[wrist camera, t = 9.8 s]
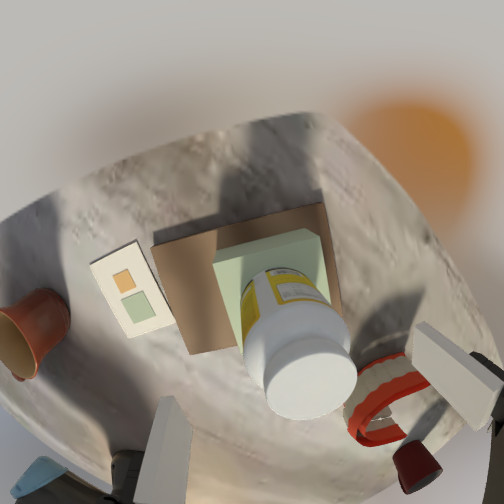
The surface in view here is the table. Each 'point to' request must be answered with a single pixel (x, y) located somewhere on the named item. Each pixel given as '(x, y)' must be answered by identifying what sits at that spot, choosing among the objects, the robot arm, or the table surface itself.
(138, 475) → the robot arm
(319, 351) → the pill bottle
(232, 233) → the plate
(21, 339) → the mug
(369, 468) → the table surface
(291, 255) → the brick
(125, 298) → the page
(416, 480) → the mug
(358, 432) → the denture model
